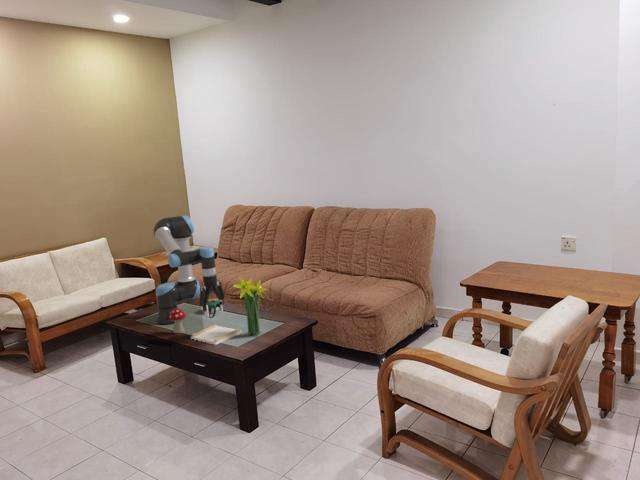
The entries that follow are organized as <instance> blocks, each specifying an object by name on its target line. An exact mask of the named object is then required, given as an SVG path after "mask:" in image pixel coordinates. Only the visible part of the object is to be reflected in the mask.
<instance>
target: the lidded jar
mask: <svg viewBox="0 0 640 480" xmlns="http://www.w3.org/2000/svg"><path fill="white" fill-rule="evenodd" d="M213 300H215V301H218V300H219V299H218V297H217V298H216V297H215V298H212V297H211V298H210V299H209V298H208V301H213ZM219 312H220V311H219V309H218V307H217V308H216V313H215V314H217V313H219ZM210 314H214V309H212V310H211V313H210Z"/></svg>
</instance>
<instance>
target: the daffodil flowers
mask: <svg viewBox="0 0 640 480" xmlns="http://www.w3.org/2000/svg"><path fill="white" fill-rule="evenodd" d="M238 279H239V281H240V283H238V284H233V285H232V287H234V288H237V289H240V290H241V291H240V294H239V295H240V296H239V299H242V298H243V299H244V305H245V310H246V317H247V318H246V321H247V332H248V333H247V334H248V336H250V335H253V336H255V335H256V334H258V335H260V334H261V330H260V329H261V328H260V322H259V321H260V320H259V310H260V309H259V308H260V307H259V306H260V300H261V298H262V299H265V297H264V295H263V292H265V291H267V290H268V288H266V287H265V288H264V287H262V286H261V283H262V280H261V279H259V280H258V282H256V283H257V284H256V285H255V284H254V283H253V278H252V277H251V278H249V279H248V280H247V281H246V282H245V280H244V279H243V278H242V277H240V276H238ZM258 296H259V297H258Z"/></svg>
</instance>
